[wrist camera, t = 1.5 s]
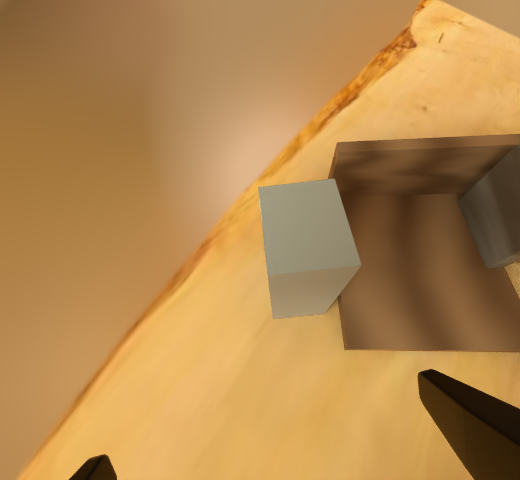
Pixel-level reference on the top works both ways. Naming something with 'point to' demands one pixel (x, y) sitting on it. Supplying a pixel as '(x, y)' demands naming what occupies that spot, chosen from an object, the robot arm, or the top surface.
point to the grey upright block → (306, 246)
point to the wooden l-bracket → (431, 243)
